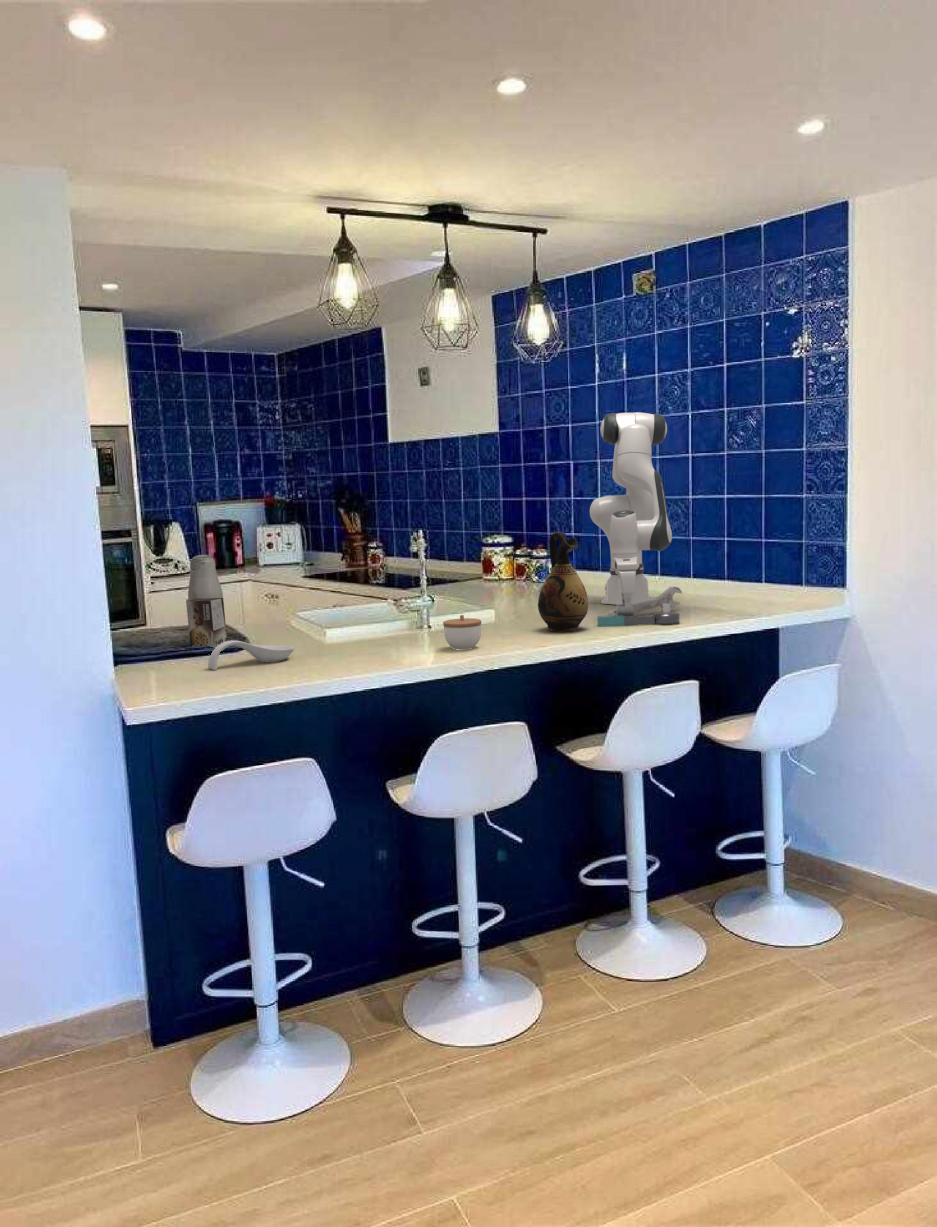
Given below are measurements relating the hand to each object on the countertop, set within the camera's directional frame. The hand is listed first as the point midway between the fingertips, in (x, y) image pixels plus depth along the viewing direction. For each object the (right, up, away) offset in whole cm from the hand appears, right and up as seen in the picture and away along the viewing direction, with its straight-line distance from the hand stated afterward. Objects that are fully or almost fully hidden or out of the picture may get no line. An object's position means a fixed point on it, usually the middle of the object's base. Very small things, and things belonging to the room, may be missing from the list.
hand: (626, 605), depth 305 cm
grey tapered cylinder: (-131, -12, -3) cm, 132 cm away
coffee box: (-127, -14, -21) cm, 129 cm away
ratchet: (+3, -6, -7) cm, 9 cm away
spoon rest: (-109, -17, -42) cm, 118 cm away
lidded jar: (-52, -12, -35) cm, 63 cm away
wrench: (+9, -3, +13) cm, 16 cm away
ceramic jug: (-21, -8, -10) cm, 24 cm away
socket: (0, -5, +1) cm, 5 cm away
